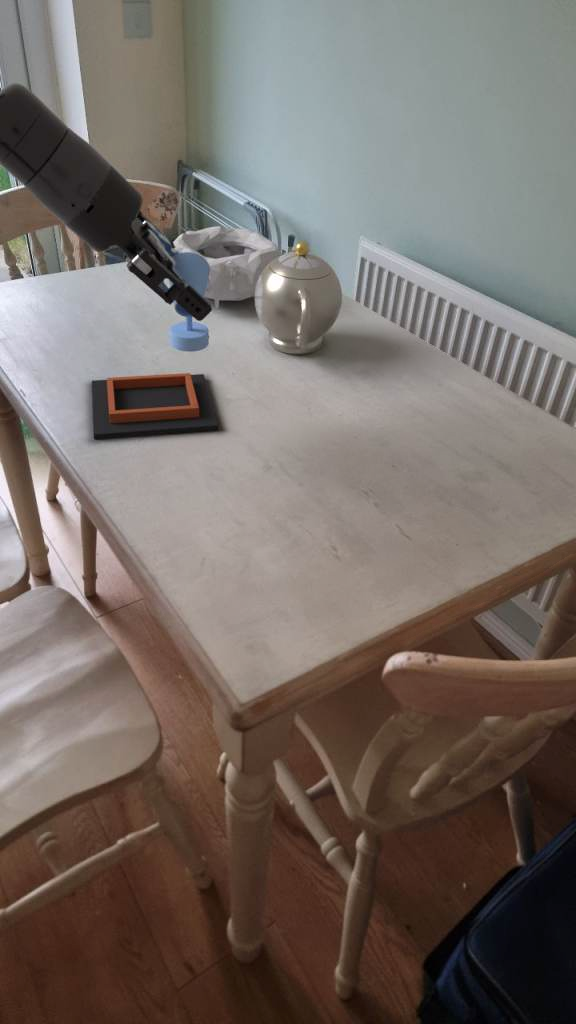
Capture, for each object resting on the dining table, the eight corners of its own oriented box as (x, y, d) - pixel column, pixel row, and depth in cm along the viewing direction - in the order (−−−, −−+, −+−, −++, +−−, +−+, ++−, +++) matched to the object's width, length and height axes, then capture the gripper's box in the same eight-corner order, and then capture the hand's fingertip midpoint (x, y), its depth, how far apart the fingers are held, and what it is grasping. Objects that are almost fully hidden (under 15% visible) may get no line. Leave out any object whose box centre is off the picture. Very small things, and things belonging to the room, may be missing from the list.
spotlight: (169, 327, 85) (167, 354, 79) (165, 245, 78) (162, 267, 73) (210, 328, 85) (210, 355, 80) (210, 246, 79) (210, 269, 74)
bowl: (155, 279, 130) (151, 224, 124) (256, 269, 137) (258, 216, 131) (187, 325, 116) (185, 266, 109) (299, 312, 123) (303, 255, 116)
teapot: (250, 323, 118) (253, 224, 107) (329, 324, 119) (339, 226, 109) (257, 375, 104) (261, 267, 94) (346, 375, 106) (359, 269, 95)
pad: (94, 439, 89) (91, 424, 87) (92, 385, 99) (90, 370, 98) (218, 430, 92) (218, 415, 91) (203, 378, 102) (203, 364, 101)
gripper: (62, 198, 76) (174, 298, 86) (58, 243, 65) (186, 351, 75) (106, 145, 74) (216, 254, 84) (110, 183, 63) (235, 303, 73)
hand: (201, 300), depth 79 cm, fingers closed on spotlight, 7 cm apart
